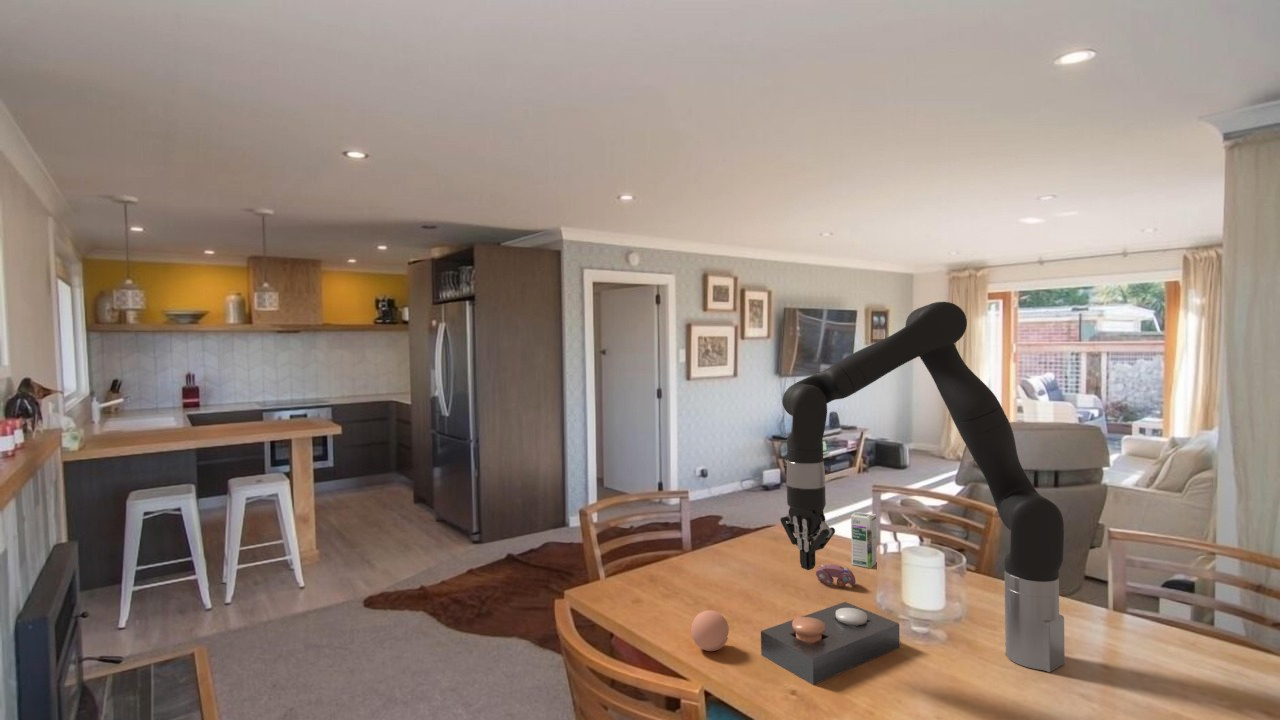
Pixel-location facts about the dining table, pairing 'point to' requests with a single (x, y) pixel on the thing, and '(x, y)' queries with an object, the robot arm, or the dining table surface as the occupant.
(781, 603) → the dining table surface
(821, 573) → the video game controller
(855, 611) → the grey button
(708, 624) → the toy ball
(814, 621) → the terracotta button
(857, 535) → the syrup box
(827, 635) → the button panel
